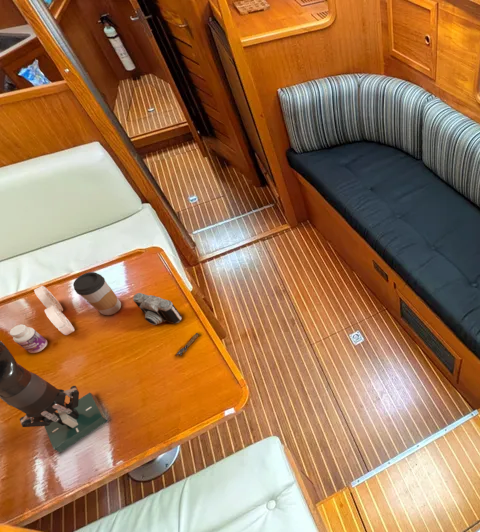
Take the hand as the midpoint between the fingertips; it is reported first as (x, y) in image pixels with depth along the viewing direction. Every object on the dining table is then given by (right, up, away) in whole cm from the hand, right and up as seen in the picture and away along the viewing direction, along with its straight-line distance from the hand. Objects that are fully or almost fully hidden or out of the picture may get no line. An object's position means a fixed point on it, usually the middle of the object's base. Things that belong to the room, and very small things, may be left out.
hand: (71, 419), depth 108 cm
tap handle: (0, 0, 0) cm, 0 cm away
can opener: (+22, +16, +19) cm, 33 cm away
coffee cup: (-10, +27, +29) cm, 41 cm away
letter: (-24, +24, +26) cm, 43 cm away
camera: (+8, +24, +26) cm, 37 cm away
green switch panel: (0, -2, +2) cm, 3 cm away
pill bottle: (-26, +16, +19) cm, 36 cm away
